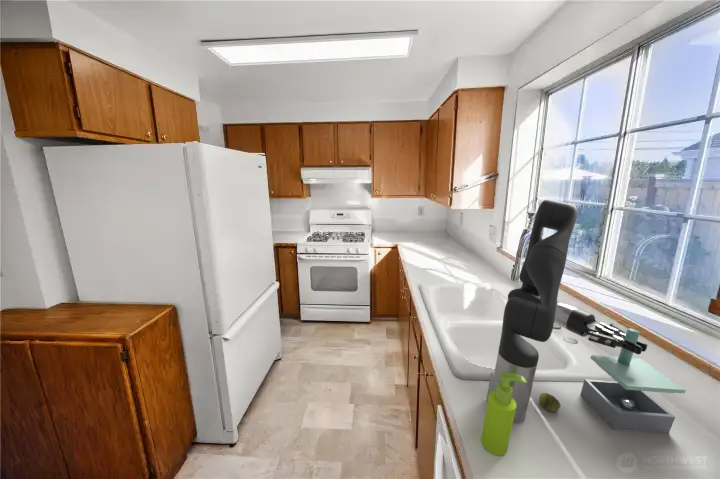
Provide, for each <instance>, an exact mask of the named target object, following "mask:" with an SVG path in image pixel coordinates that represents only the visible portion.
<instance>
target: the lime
mask: <svg viewBox="0 0 720 479" xmlns="http://www.w3.org/2000/svg"><path fill="white" fill-rule="evenodd" d="M538 401H539V404H540V406H541V407H542V409H544V410H546V411H548V412H551V413H552V412H553V413H554V412H557V411H559V409H560V408H561V403H560V401H559V400H558V399H557V398H556V397H555V396H554V395H553V394H550V393H547V392H545V393H543V392H542V393H540V394H539V397H538Z"/></svg>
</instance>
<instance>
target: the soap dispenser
mask: <svg viewBox="0 0 720 479" xmlns="http://www.w3.org/2000/svg"><path fill="white" fill-rule="evenodd" d="M499 374H500V377H501V379H502V382H499V383H498V384H497V386H496V391H491V392H490V393H489V396H488V402H487V401H486V402H487V403H486V408H485V415H484V418H483V419H484V420H483V424H482V431H481V436H480V441H481V445H482V446H483V448H484V449H485V450H486V451H487V452H488V453H490V454H492V455H494V456H498V457H501V456H504V455H506V454H507V452H508V448H509V443H510V439H511V433H512V430H513V425H514V423H513V420H514V416H515V411H516V406H517V405H516V402H515V400H514V399H513V398H512V393H513V389H512V387H511V386H510V381H517V382H521V383H524V384H526V383H527V381H526V379H525V377H523V376H521V375H518V374H514V373H507V372H500V373H499Z"/></svg>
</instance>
